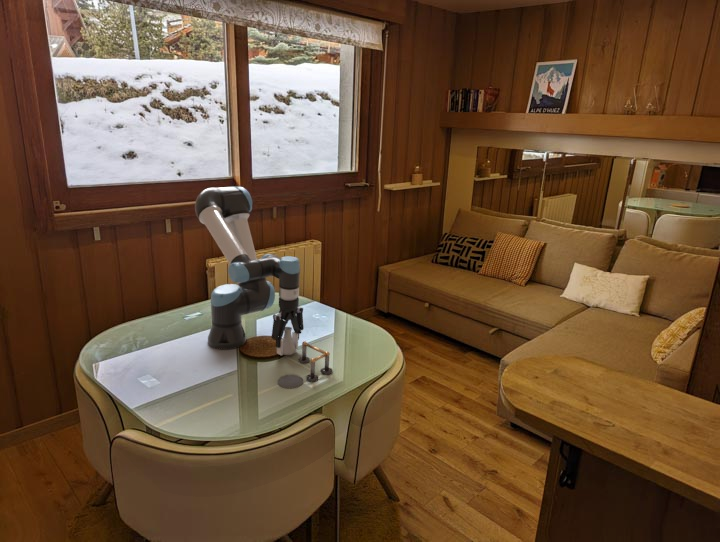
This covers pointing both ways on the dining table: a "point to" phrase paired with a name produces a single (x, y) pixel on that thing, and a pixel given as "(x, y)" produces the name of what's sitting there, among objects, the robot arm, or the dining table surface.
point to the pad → (290, 381)
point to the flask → (288, 342)
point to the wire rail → (304, 359)
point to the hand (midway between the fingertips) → (287, 350)
